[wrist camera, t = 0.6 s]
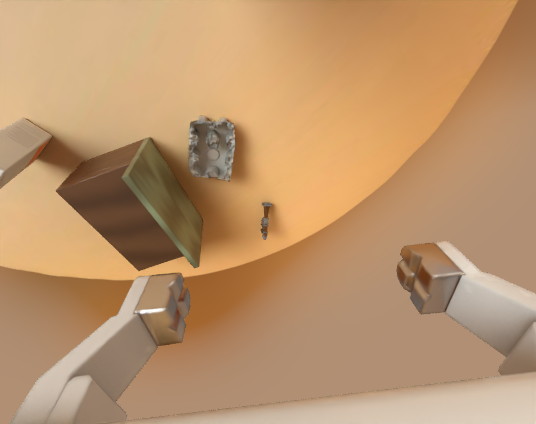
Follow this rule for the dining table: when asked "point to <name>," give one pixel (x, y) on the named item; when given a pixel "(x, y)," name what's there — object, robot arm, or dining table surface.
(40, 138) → the cosmetic box
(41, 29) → the dining table surface
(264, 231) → the wooden post with brackets
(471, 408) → the robot arm
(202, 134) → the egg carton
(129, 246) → the shelf
